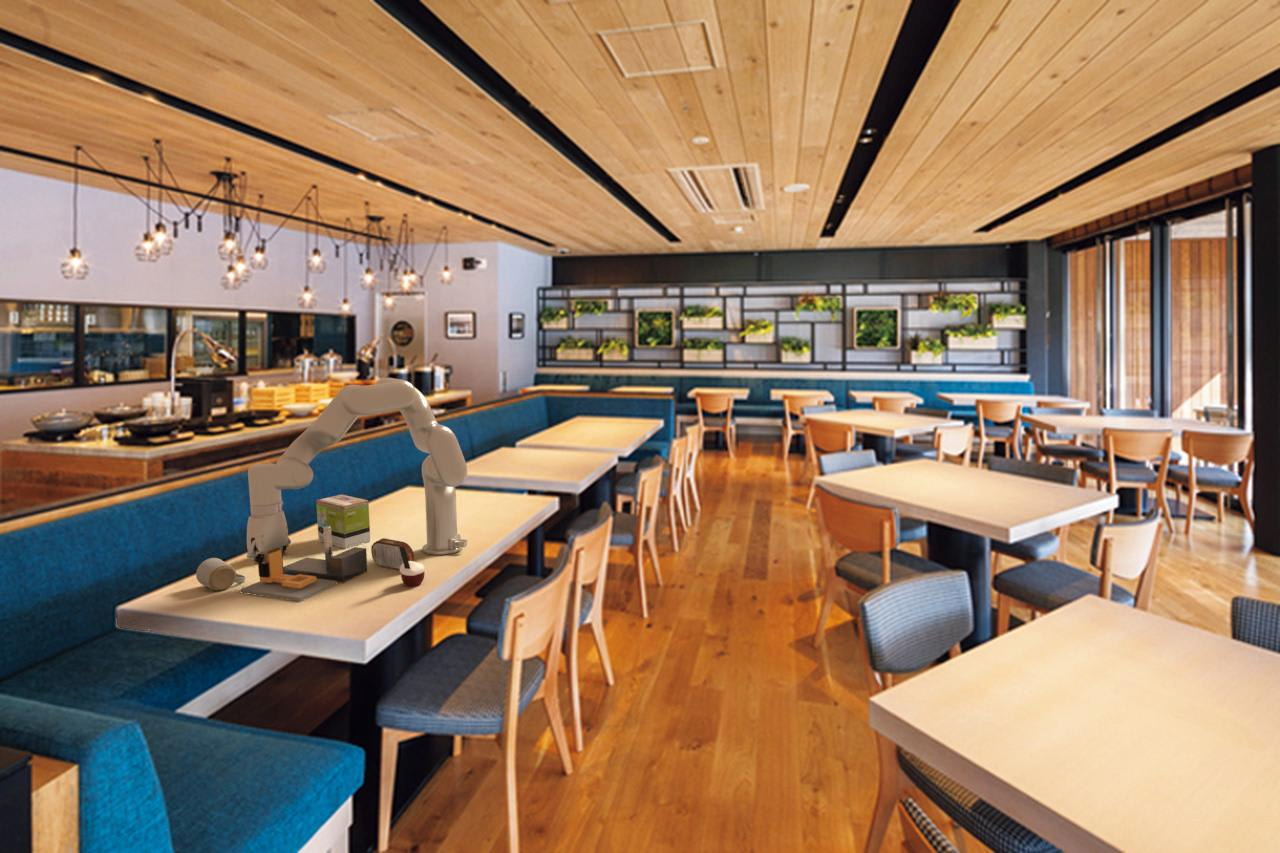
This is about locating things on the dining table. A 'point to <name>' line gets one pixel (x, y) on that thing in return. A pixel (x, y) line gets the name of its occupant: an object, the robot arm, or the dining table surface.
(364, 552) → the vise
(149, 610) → the dining table surface
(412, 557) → the tin
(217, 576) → the ceramic mug
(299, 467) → the robot arm
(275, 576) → the orange block with loop
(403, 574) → the cocoa
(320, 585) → the rubber mat
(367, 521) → the tea box
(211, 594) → the dining table surface
